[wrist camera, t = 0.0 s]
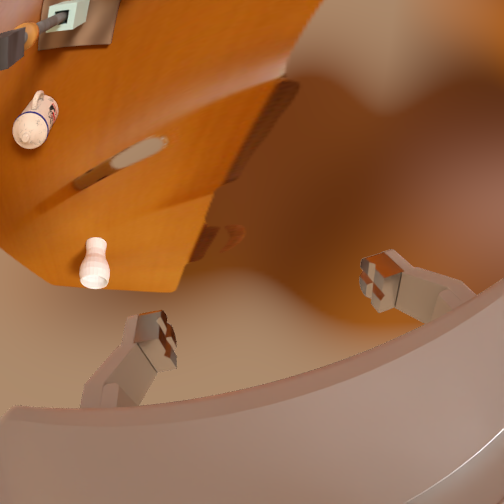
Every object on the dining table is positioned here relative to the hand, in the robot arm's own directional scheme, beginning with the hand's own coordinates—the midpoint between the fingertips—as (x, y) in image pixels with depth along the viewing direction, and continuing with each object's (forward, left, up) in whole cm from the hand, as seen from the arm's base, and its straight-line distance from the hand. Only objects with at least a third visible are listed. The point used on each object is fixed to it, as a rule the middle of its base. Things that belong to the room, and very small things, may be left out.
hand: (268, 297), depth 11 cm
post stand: (-19, -11, -54) cm, 59 cm away
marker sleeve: (-19, -11, -51) cm, 56 cm away
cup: (+30, -68, -55) cm, 92 cm away
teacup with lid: (-11, -33, -55) cm, 65 cm away
